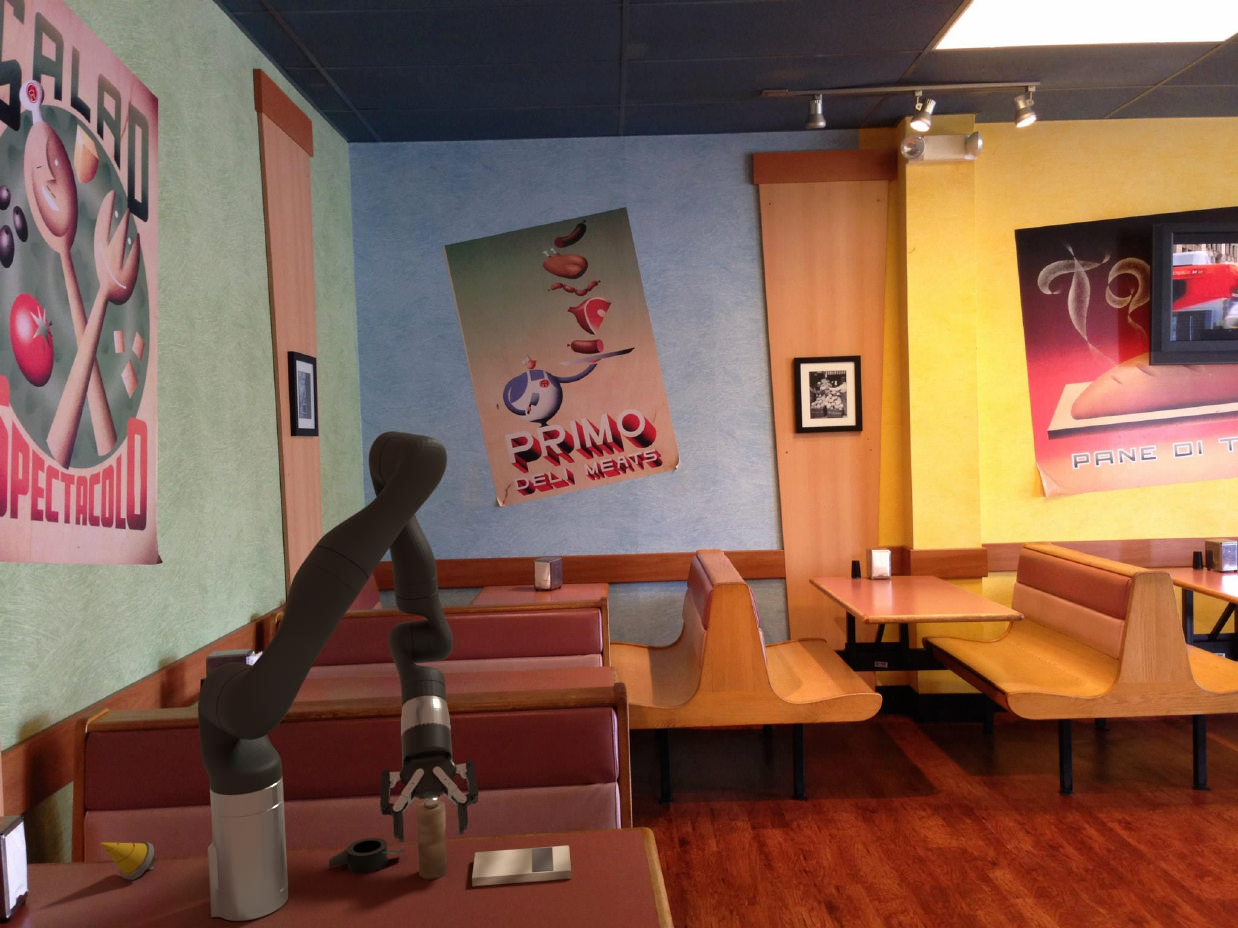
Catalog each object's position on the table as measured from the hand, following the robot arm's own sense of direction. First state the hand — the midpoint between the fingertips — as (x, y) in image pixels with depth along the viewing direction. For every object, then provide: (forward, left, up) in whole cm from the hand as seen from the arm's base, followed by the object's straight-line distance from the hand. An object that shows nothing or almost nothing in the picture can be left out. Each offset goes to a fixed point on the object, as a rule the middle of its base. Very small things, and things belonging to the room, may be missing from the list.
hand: (431, 836), depth 133 cm
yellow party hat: (-44, +6, -6) cm, 45 cm away
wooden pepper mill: (0, +1, -6) cm, 6 cm away
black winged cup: (-10, +5, -6) cm, 13 cm away
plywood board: (+13, 0, -6) cm, 14 cm away
